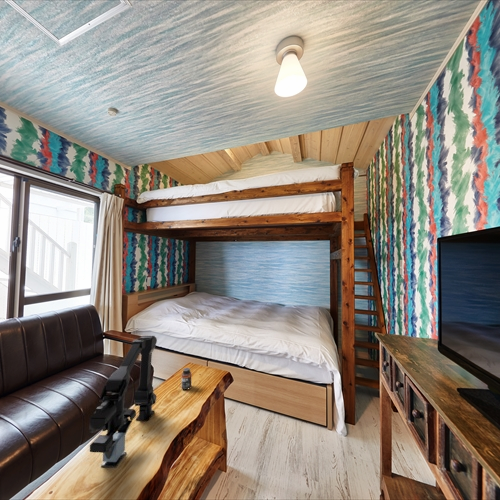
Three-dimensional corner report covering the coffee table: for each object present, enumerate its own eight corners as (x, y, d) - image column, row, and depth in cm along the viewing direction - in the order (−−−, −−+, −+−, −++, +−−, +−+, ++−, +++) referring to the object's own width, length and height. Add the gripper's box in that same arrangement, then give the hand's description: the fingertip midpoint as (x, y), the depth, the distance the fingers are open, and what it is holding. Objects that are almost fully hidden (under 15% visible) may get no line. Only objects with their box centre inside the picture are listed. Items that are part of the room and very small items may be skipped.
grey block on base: (112, 449, 85) (113, 432, 86) (124, 450, 85) (125, 432, 86) (102, 461, 80) (103, 443, 81) (115, 462, 80) (116, 443, 80)
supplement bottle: (187, 384, 135) (188, 365, 136) (193, 387, 131) (193, 368, 132) (179, 388, 130) (179, 369, 131) (184, 391, 126) (185, 372, 127)
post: (112, 452, 86) (112, 433, 86) (126, 453, 85) (127, 433, 86) (100, 466, 80) (101, 445, 80) (116, 467, 79) (116, 446, 80)
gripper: (113, 394, 94) (111, 431, 93) (76, 426, 75) (73, 473, 74) (137, 395, 93) (136, 432, 92) (106, 428, 74) (104, 475, 73)
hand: (114, 450), depth 83 cm, fingers open, 6 cm apart
